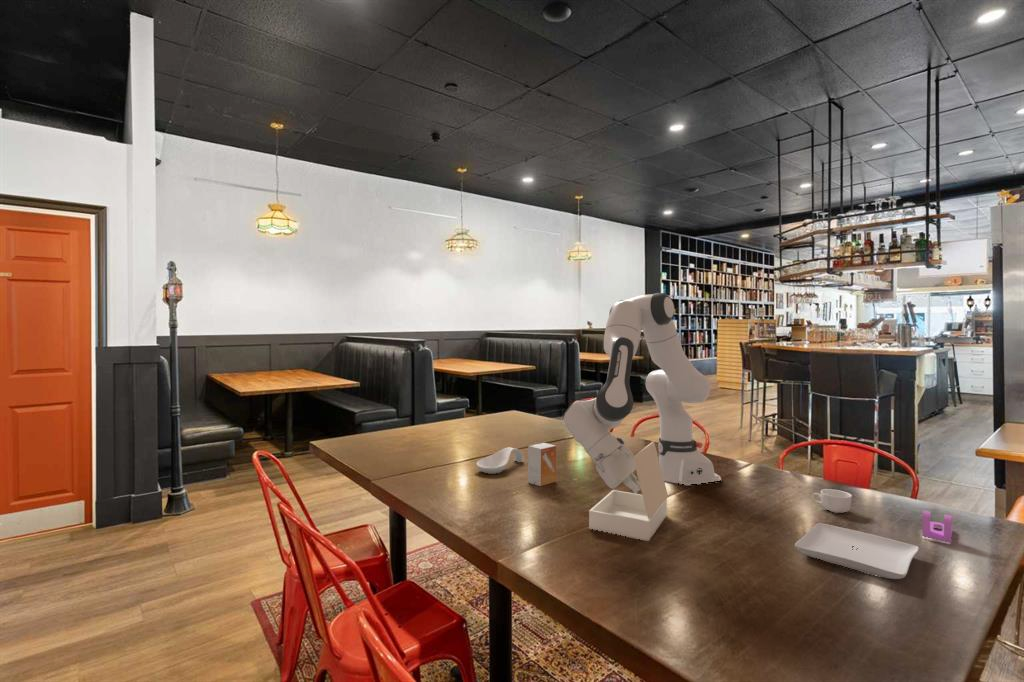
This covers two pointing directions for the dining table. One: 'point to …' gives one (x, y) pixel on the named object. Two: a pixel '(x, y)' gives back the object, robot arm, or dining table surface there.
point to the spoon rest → (499, 460)
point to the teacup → (834, 500)
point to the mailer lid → (650, 479)
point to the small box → (541, 464)
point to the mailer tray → (625, 516)
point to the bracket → (934, 534)
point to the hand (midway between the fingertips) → (639, 490)
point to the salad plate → (858, 550)
